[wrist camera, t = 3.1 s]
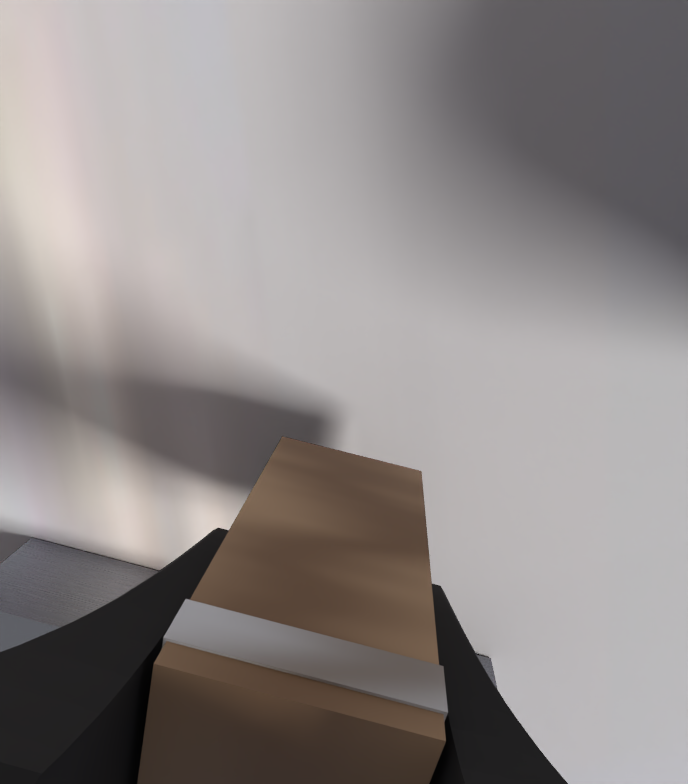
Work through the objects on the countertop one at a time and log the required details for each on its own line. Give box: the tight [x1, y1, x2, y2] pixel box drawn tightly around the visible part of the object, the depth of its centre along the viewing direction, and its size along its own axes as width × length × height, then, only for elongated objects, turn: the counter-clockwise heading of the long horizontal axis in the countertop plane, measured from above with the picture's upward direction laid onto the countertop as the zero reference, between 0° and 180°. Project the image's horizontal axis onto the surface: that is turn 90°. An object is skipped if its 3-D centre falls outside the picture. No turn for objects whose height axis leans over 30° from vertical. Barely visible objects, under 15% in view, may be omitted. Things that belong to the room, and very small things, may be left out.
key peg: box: [137, 436, 448, 784], centre depth 11 cm, size 4×4×8 cm
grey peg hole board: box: [0, 538, 497, 689], centre depth 20 cm, size 18×14×4 cm
